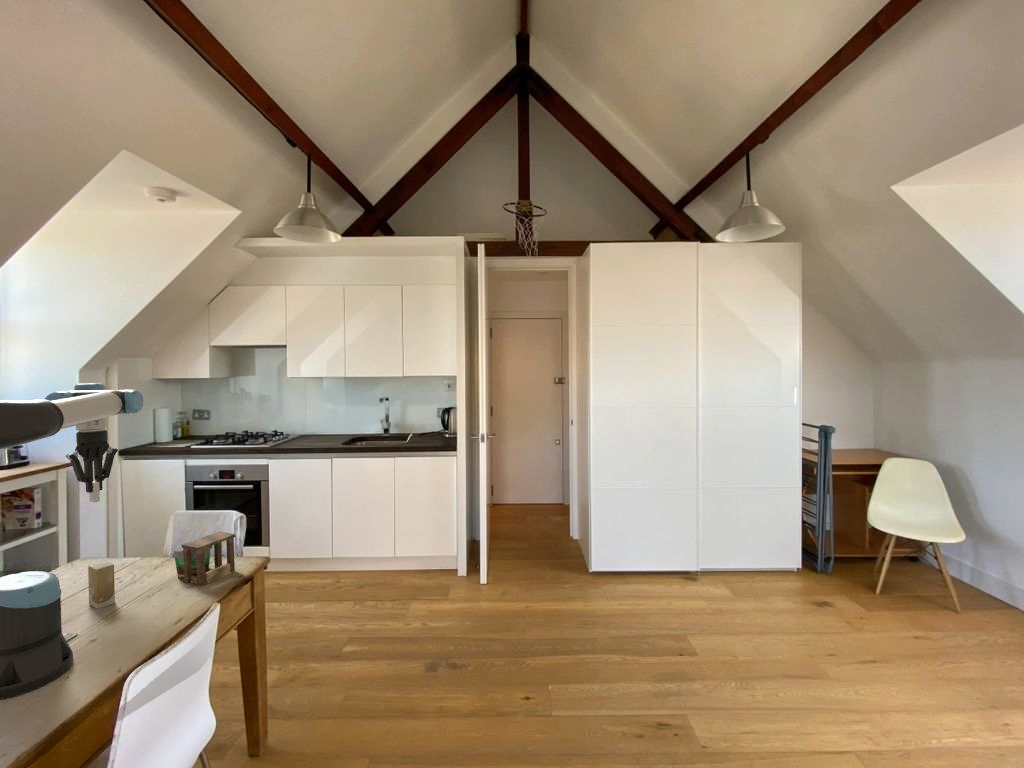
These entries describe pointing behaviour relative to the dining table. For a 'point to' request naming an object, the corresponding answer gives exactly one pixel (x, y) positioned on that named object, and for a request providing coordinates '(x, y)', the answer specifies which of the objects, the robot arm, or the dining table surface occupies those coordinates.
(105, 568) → the skincare box
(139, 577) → the dining table surface
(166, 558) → the dining table surface
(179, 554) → the food container
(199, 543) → the small wooden bench
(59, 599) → the robot arm
